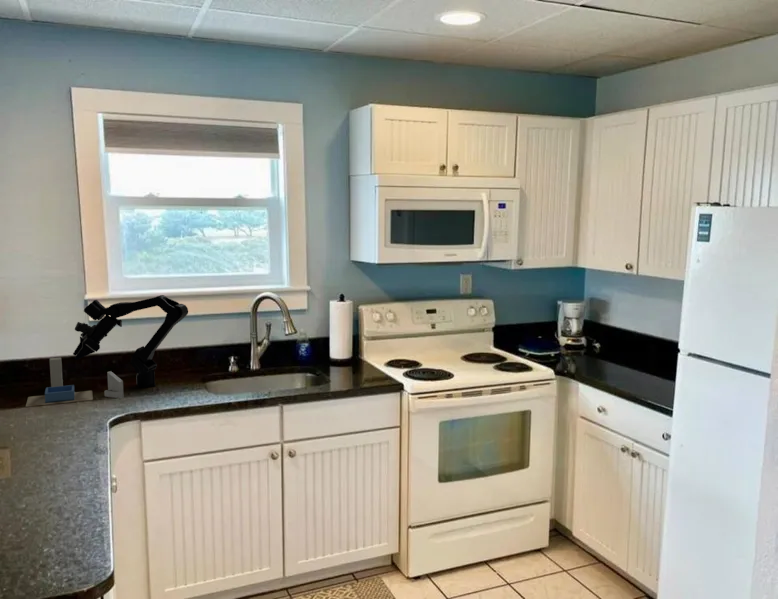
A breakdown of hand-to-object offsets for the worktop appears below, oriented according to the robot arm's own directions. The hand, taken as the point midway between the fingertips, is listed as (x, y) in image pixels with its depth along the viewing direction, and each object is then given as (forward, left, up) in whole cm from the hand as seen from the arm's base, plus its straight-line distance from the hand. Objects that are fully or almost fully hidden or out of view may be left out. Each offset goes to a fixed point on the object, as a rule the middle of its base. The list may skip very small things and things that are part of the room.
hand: (74, 357), depth 258 cm
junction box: (+5, +17, -12) cm, 21 cm away
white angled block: (-13, +22, -13) cm, 28 cm away
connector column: (+7, +1, -13) cm, 15 cm away
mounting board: (+5, +17, -13) cm, 22 cm away
